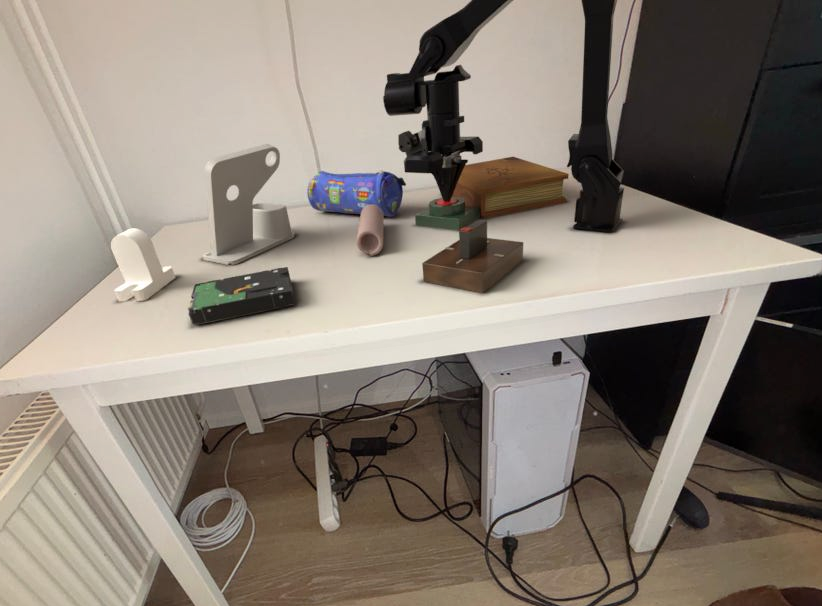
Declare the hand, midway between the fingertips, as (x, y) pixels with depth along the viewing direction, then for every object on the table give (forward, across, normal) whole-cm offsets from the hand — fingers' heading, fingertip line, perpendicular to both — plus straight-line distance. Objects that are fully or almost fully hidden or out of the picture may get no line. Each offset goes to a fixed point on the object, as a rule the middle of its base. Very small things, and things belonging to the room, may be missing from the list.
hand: (446, 201), depth 94 cm
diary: (+4, -18, +2) cm, 19 cm away
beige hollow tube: (+4, +14, -8) cm, 17 cm away
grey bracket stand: (+4, +26, -30) cm, 40 cm away
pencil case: (+4, +1, -23) cm, 23 cm away
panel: (+4, +20, +17) cm, 27 cm away
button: (+2, 0, 0) cm, 2 cm away
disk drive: (+4, +44, -9) cm, 45 cm away
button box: (+4, 0, 0) cm, 4 cm away
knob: (+1, +20, +17) cm, 26 cm away
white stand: (+4, +48, -31) cm, 57 cm away
